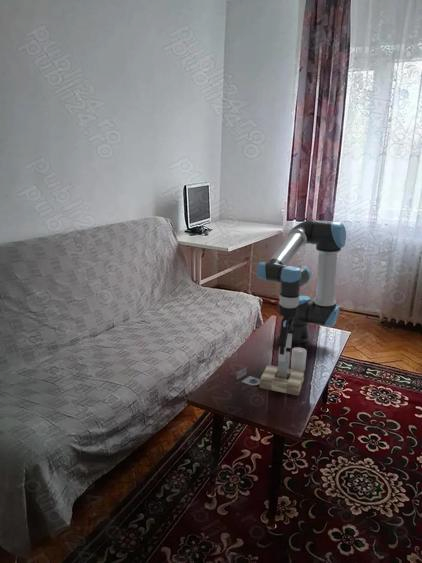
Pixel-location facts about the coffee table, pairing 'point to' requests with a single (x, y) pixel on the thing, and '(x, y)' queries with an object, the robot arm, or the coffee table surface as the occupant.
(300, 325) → the robot arm
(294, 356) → the plastic dowel
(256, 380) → the bracket
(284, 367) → the grey long block
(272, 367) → the socket block
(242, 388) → the coffee table surface
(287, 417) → the coffee table surface
